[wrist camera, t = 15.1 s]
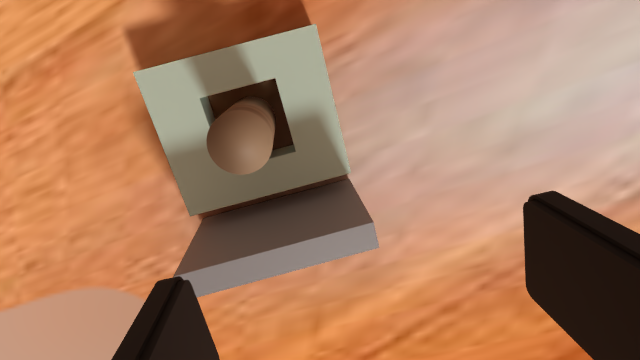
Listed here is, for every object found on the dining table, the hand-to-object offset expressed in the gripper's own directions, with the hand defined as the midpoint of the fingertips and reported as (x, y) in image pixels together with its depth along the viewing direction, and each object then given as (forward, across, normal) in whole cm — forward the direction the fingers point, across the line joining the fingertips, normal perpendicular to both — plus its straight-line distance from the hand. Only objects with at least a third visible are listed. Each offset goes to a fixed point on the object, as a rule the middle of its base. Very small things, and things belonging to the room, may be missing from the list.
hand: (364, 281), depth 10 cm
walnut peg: (+24, +5, -2) cm, 25 cm away
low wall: (+24, +5, +7) cm, 25 cm away
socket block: (+24, +5, -2) cm, 25 cm away
